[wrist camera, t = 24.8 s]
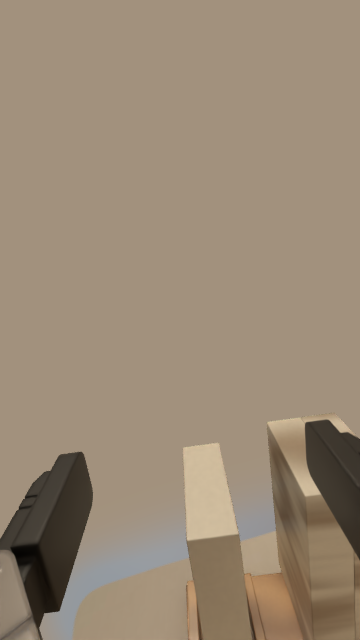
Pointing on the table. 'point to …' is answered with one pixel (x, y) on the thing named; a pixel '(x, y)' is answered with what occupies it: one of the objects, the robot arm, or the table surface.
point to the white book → (214, 546)
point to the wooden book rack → (300, 554)
